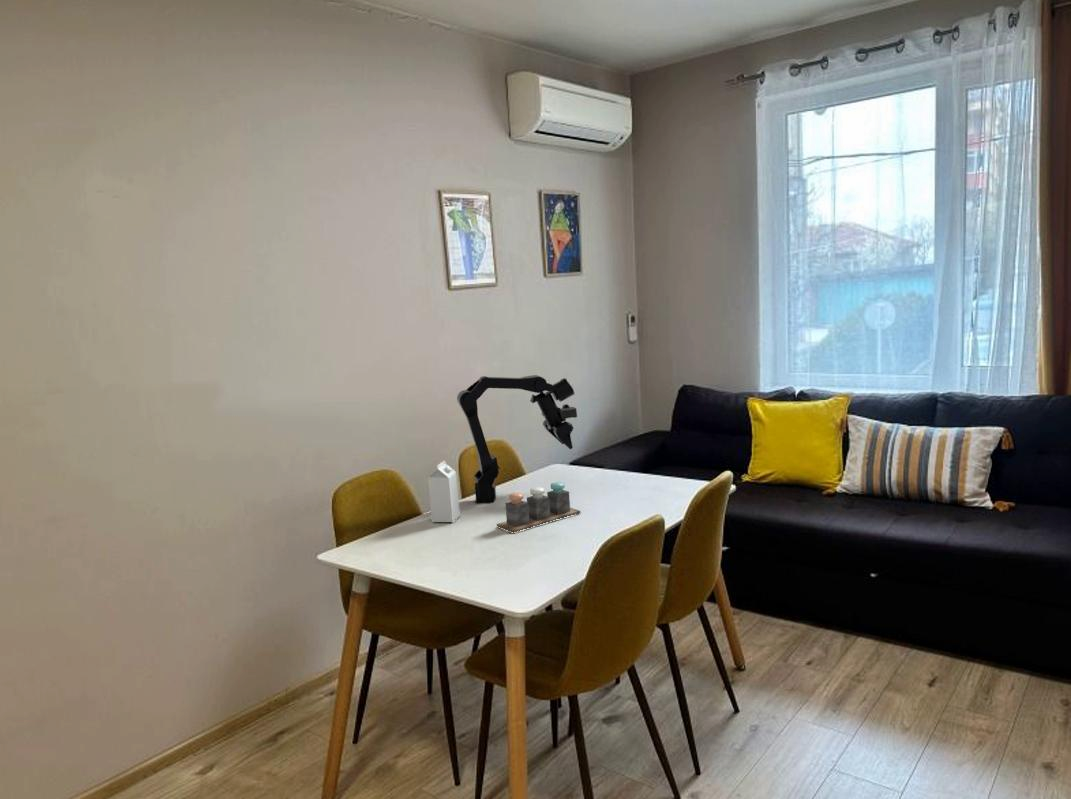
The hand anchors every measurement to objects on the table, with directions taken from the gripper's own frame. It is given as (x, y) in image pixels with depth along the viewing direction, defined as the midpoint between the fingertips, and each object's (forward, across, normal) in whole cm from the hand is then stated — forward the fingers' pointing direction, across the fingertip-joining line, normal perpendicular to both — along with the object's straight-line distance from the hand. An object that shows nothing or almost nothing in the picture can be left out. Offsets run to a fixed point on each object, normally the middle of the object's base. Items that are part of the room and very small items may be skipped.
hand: (567, 446), depth 257 cm
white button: (+1, -30, +21) cm, 37 cm away
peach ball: (-2, -33, +28) cm, 43 cm away
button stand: (+7, -30, +24) cm, 39 cm away
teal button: (+4, -27, +14) cm, 31 cm away
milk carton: (-3, -16, +49) cm, 52 cm away
